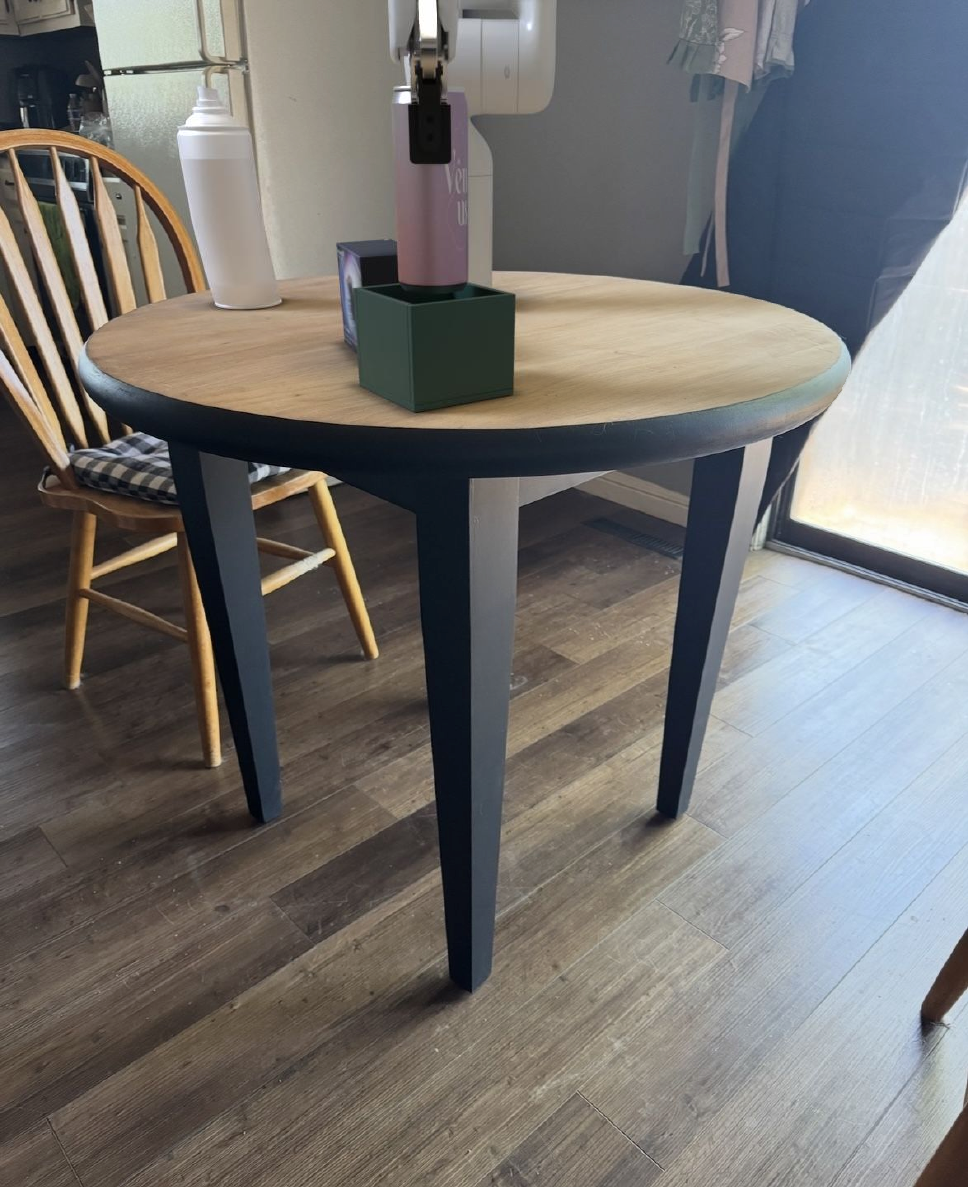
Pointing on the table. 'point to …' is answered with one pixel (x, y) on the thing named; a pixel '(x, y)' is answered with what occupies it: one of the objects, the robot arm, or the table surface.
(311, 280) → the table surface
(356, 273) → the small box
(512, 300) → the bin
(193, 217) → the spray can
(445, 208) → the beverage can
